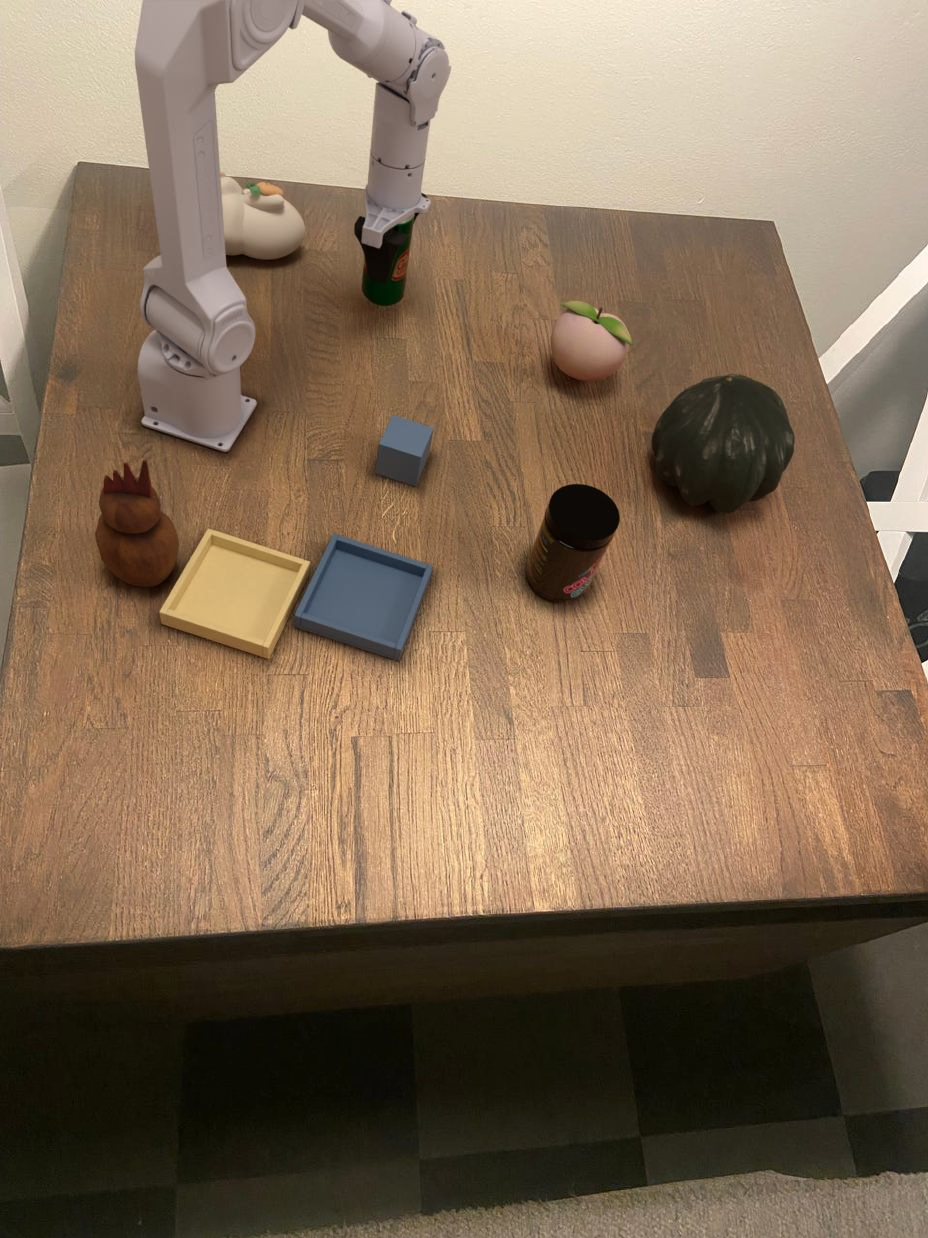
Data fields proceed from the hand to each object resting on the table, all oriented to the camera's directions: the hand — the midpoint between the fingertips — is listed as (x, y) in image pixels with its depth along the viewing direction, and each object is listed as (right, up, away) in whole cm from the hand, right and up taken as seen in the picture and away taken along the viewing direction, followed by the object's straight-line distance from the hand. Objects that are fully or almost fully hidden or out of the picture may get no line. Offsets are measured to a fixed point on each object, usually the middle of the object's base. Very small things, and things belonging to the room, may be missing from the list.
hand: (385, 267), depth 105 cm
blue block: (+2, -24, -8) cm, 26 cm away
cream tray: (-12, -39, -21) cm, 45 cm away
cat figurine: (-18, +5, +7) cm, 20 cm away
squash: (+36, -25, -2) cm, 44 cm away
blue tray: (0, -39, -19) cm, 43 cm away
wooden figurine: (-21, -36, -20) cm, 46 cm away
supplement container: (+18, -37, -13) cm, 43 cm away
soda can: (-1, -2, +3) cm, 4 cm away
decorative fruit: (+23, -12, +4) cm, 26 cm away
